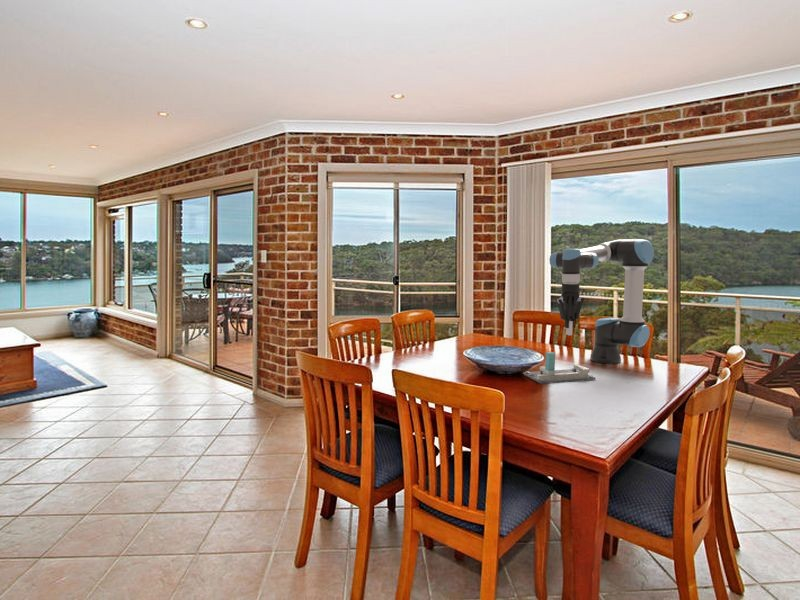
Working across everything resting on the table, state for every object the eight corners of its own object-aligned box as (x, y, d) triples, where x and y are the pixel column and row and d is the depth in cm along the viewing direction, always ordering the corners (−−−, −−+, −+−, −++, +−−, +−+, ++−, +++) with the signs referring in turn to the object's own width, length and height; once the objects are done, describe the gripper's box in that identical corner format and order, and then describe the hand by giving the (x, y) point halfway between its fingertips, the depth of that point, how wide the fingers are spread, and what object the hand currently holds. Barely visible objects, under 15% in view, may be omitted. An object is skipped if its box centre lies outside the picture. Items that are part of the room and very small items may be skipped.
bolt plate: (575, 371, 232) (575, 367, 232) (595, 379, 217) (595, 376, 216) (523, 374, 226) (523, 371, 225) (540, 383, 210) (540, 380, 210)
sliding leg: (543, 373, 222) (544, 349, 221) (554, 379, 213) (555, 353, 211) (538, 373, 221) (538, 349, 220) (548, 379, 212) (549, 353, 211)
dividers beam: (577, 372, 226) (577, 364, 226) (589, 377, 217) (589, 369, 216) (529, 375, 220) (530, 366, 220) (540, 380, 211) (540, 372, 211)
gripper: (578, 282, 217) (576, 332, 219) (553, 283, 214) (551, 334, 217) (588, 283, 209) (586, 335, 212) (562, 284, 206) (560, 337, 209)
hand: (569, 334), depth 214 cm, fingers closed
